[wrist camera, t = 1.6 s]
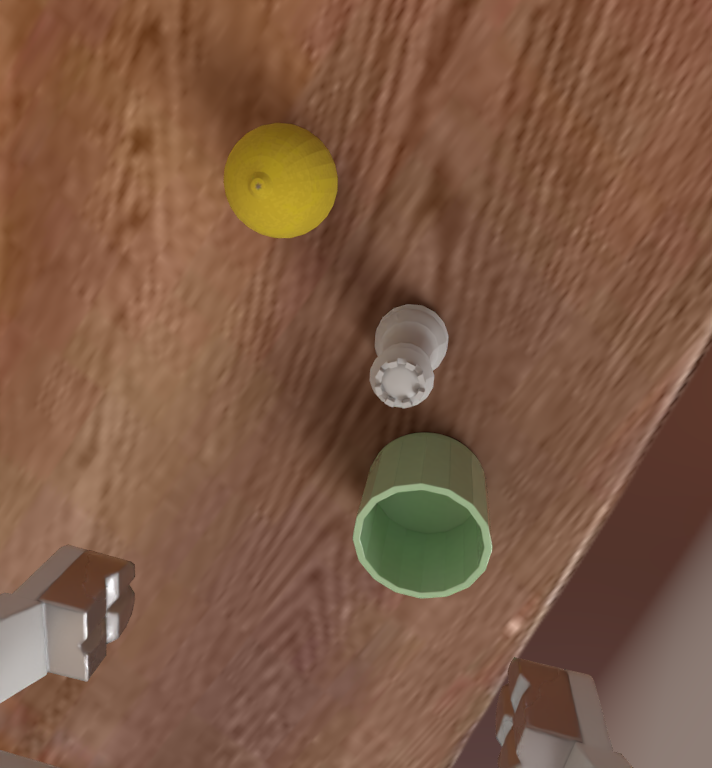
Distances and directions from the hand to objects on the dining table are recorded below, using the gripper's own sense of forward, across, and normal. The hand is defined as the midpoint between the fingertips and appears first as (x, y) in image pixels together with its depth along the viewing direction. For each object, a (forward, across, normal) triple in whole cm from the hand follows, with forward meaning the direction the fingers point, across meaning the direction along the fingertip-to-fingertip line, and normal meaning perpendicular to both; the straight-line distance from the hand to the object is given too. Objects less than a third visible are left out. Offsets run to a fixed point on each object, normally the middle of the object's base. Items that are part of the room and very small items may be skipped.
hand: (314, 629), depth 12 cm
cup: (+25, -3, +11) cm, 28 cm away
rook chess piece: (+25, 0, +1) cm, 25 cm away
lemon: (+25, +8, -7) cm, 27 cm away
